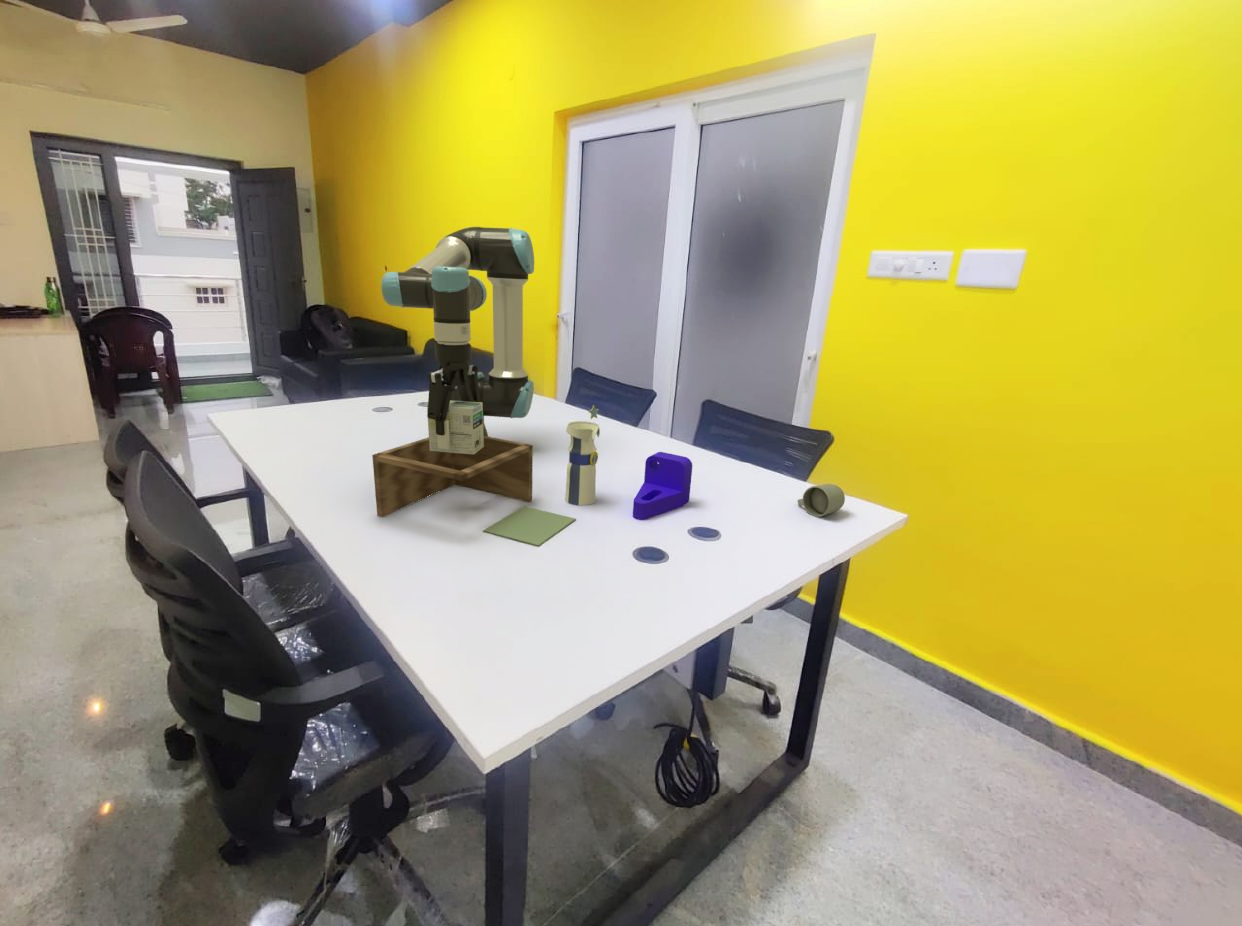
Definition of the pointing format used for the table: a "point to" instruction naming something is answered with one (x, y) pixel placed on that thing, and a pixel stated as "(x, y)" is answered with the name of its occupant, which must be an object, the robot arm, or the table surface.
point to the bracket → (663, 485)
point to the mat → (530, 526)
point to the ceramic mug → (822, 499)
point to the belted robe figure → (582, 462)
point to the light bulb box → (461, 428)
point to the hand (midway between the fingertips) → (456, 443)
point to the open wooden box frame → (451, 472)
